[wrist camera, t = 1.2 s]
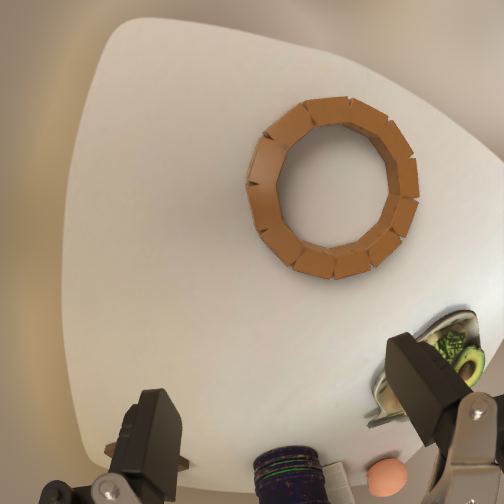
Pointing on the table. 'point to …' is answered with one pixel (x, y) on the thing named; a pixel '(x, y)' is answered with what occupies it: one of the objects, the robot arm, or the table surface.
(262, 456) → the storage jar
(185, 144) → the table surface
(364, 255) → the ring
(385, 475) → the toy ball
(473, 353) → the avocado toast plate
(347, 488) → the small box
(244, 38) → the table surface
